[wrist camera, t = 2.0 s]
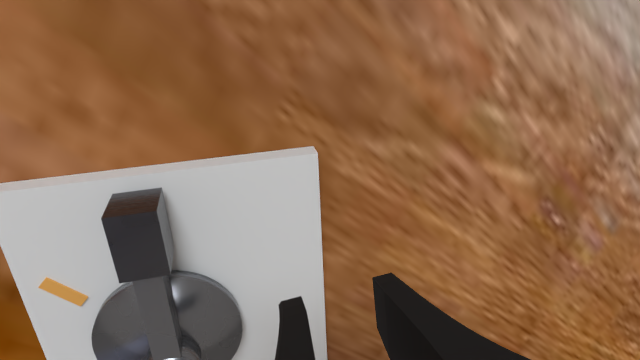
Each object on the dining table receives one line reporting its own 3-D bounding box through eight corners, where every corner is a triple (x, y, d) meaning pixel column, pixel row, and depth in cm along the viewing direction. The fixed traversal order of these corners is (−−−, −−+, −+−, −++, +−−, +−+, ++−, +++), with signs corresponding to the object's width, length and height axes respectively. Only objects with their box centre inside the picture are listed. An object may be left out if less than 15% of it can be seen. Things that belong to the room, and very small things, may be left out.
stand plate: (323, 359, 27) (328, 373, 26) (79, 412, 24) (74, 430, 23) (313, 146, 21) (318, 153, 20) (-9, 184, 19) (-22, 195, 18)
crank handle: (248, 365, 24) (252, 401, 22) (113, 393, 23) (103, 435, 21) (221, 177, 19) (222, 201, 17) (48, 200, 18) (27, 228, 16)
